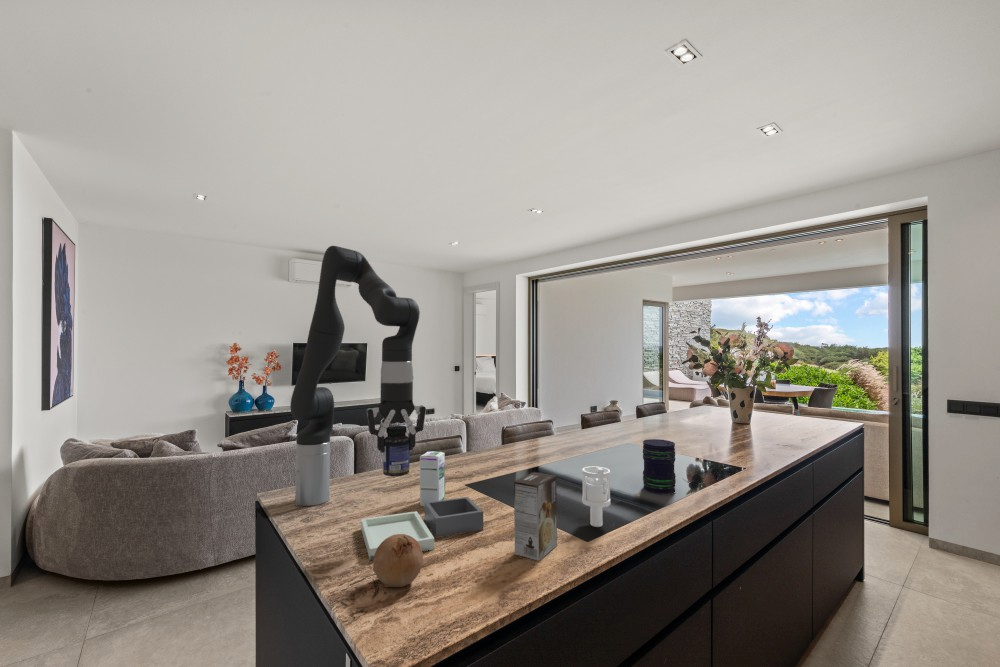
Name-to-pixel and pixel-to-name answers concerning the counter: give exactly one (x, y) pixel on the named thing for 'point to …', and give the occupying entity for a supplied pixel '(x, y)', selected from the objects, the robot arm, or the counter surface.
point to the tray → (395, 530)
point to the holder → (453, 516)
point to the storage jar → (659, 466)
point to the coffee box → (535, 515)
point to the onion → (398, 560)
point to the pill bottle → (396, 452)
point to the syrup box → (432, 477)
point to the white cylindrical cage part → (596, 492)
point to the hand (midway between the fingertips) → (396, 450)
